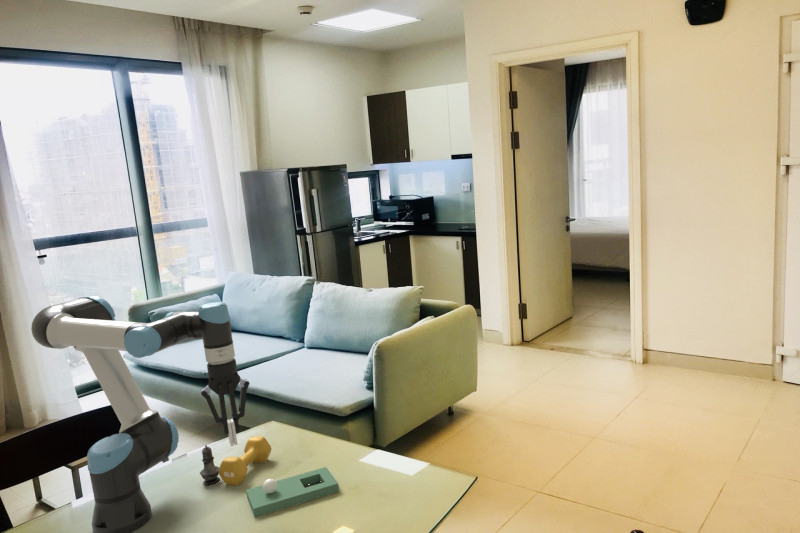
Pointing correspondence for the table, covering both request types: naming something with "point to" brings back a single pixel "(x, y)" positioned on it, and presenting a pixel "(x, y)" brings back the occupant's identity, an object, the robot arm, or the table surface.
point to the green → (292, 491)
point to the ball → (270, 486)
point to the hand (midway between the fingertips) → (233, 443)
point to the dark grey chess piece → (209, 468)
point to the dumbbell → (244, 460)
